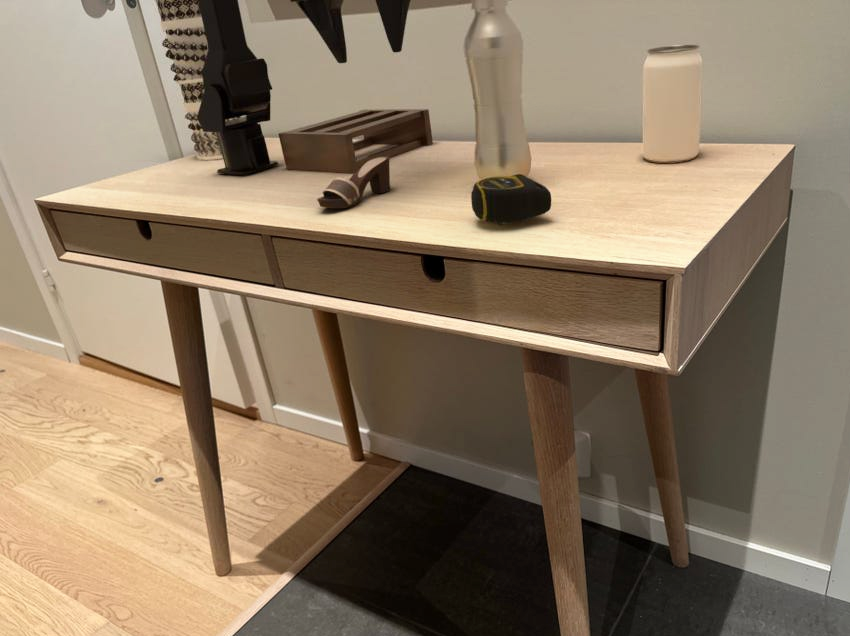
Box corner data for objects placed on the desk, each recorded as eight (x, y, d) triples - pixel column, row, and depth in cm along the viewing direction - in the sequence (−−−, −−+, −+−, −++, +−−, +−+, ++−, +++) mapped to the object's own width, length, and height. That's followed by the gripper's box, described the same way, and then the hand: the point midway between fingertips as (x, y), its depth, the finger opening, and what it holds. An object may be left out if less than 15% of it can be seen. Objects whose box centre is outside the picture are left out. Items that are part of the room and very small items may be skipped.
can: (710, 154, 83) (716, 44, 77) (672, 166, 80) (675, 52, 74) (668, 148, 88) (671, 44, 82) (631, 159, 85) (631, 51, 79)
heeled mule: (306, 211, 79) (299, 177, 77) (377, 186, 86) (372, 154, 84) (332, 215, 76) (325, 180, 74) (403, 189, 83) (398, 156, 82)
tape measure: (555, 222, 66) (553, 182, 64) (486, 235, 65) (482, 195, 63) (529, 205, 72) (526, 168, 70) (465, 217, 70) (461, 180, 69)
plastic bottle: (468, 192, 79) (446, -8, 70) (488, 176, 85) (470, -11, 75) (522, 191, 77) (507, -15, 68) (540, 175, 82) (528, -17, 73)
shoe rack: (286, 169, 101) (278, 133, 99) (369, 141, 114) (364, 109, 111) (352, 173, 94) (345, 134, 92) (433, 143, 107) (428, 109, 105)
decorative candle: (262, 149, 118) (221, -20, 106) (212, 162, 112) (163, -15, 100) (234, 146, 123) (192, -15, 112) (185, 158, 118) (135, -10, 106)
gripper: (335, -122, 63) (366, 67, 70) (459, -114, 76) (474, 44, 83) (255, -101, 69) (291, 70, 76) (382, -98, 82) (403, 48, 89)
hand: (371, 57), depth 81 cm, fingers open, 9 cm apart
